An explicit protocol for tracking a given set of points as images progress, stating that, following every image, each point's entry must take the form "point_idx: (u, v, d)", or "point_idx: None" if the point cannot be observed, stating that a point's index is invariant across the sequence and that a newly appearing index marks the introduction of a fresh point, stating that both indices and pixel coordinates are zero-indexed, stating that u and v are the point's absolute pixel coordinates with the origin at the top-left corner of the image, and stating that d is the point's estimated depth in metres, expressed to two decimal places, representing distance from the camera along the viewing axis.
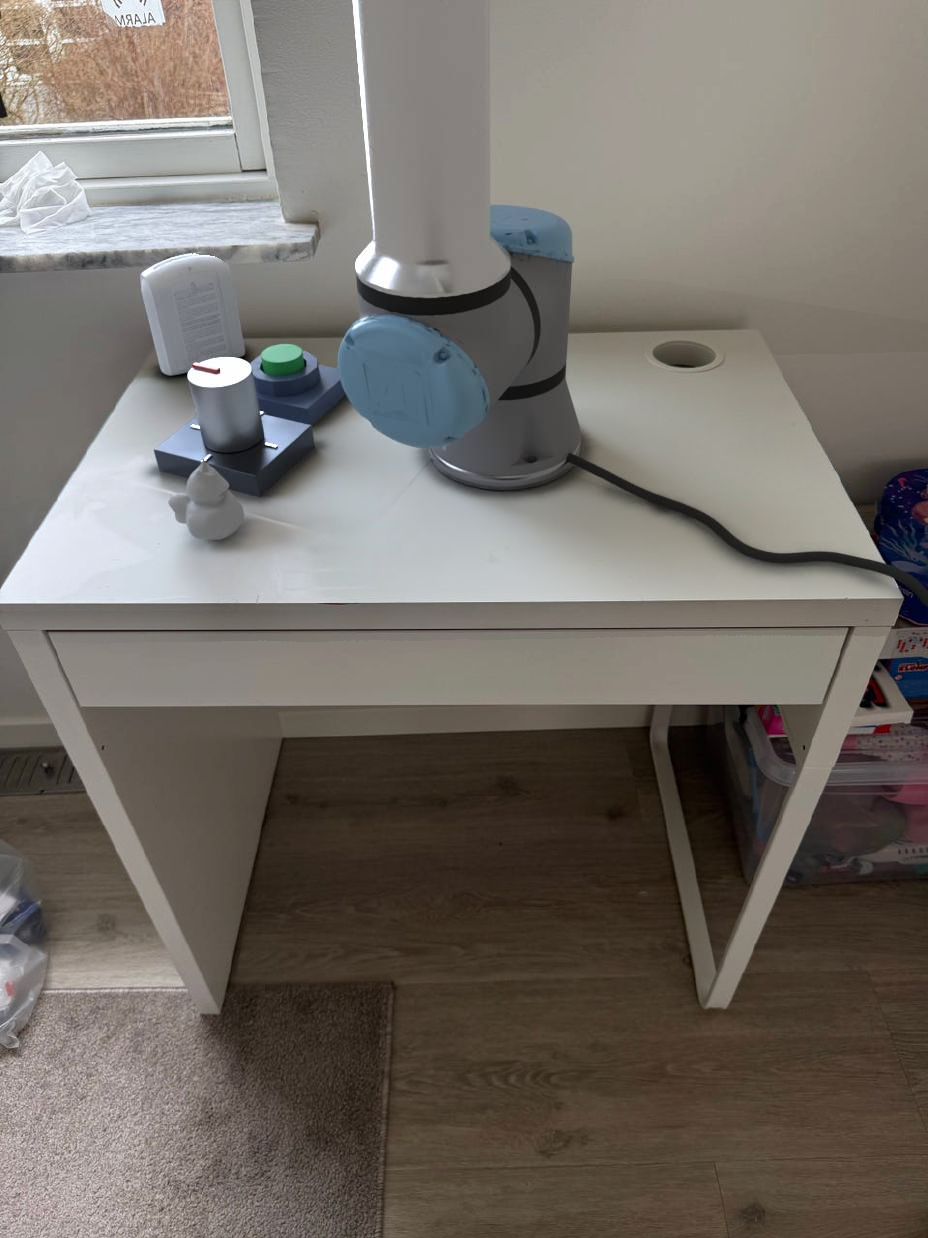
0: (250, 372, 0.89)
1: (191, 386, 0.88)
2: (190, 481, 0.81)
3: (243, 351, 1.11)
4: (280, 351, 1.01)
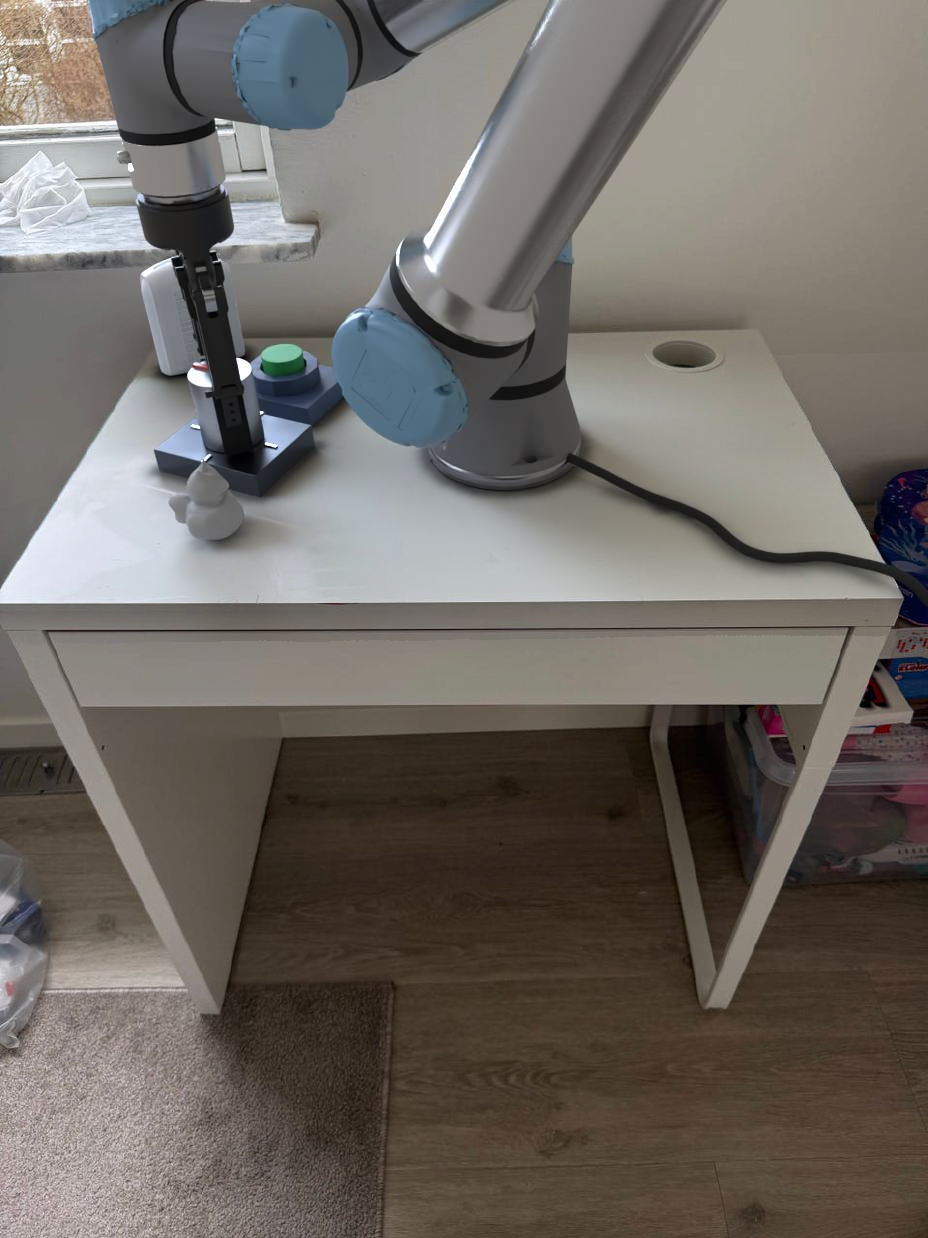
0: (250, 372, 0.89)
1: (191, 386, 0.88)
2: (190, 481, 0.81)
3: (243, 351, 1.11)
4: (280, 351, 1.01)
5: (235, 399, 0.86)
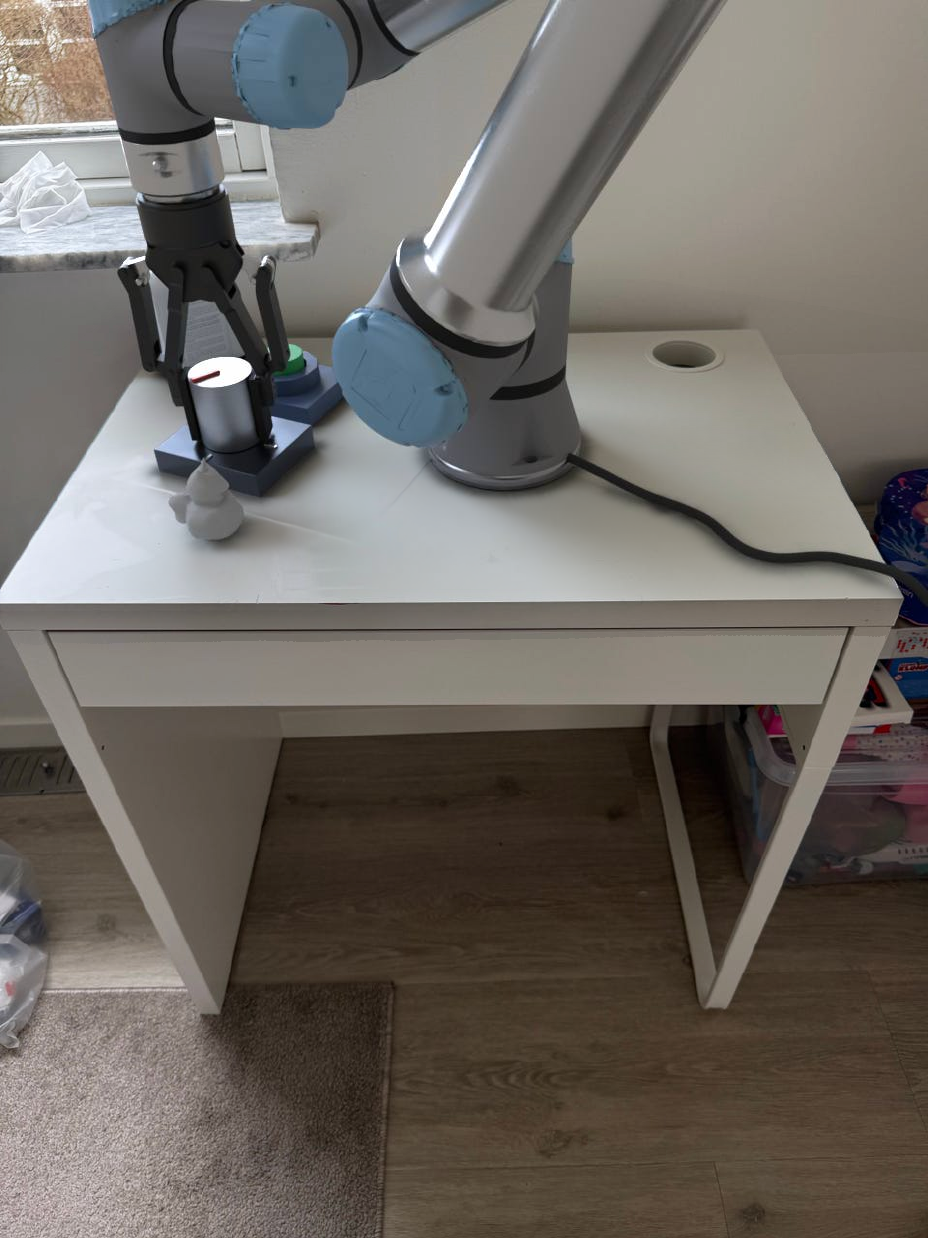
0: (239, 359, 0.91)
1: (221, 391, 0.87)
2: (190, 481, 0.81)
3: (243, 351, 1.11)
4: None
5: (273, 373, 0.89)
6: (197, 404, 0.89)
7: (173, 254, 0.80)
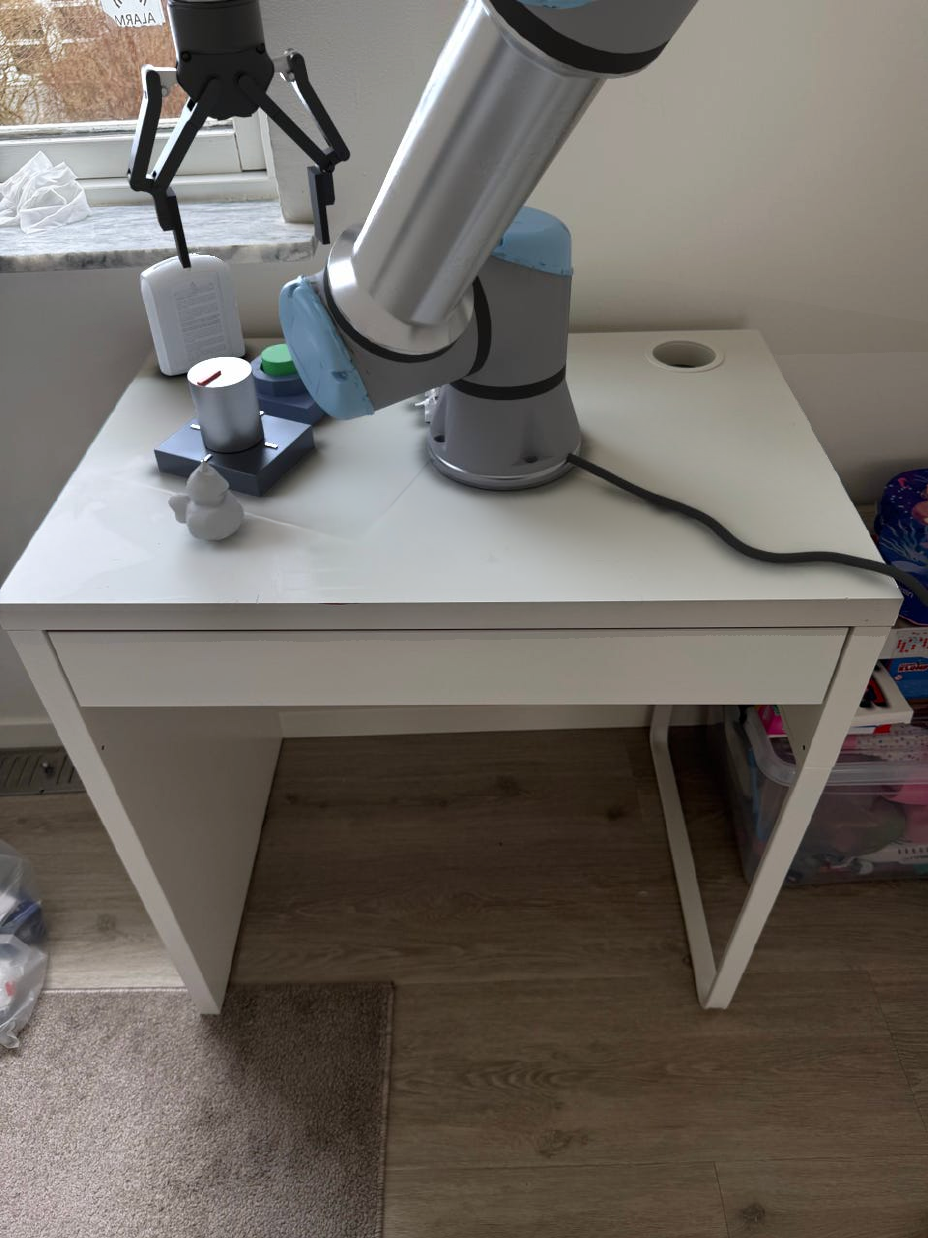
0: (229, 357, 0.91)
1: (233, 389, 0.87)
2: (190, 481, 0.81)
3: (243, 351, 1.11)
4: (280, 351, 1.01)
5: None
6: (207, 407, 0.88)
7: (212, 74, 0.80)
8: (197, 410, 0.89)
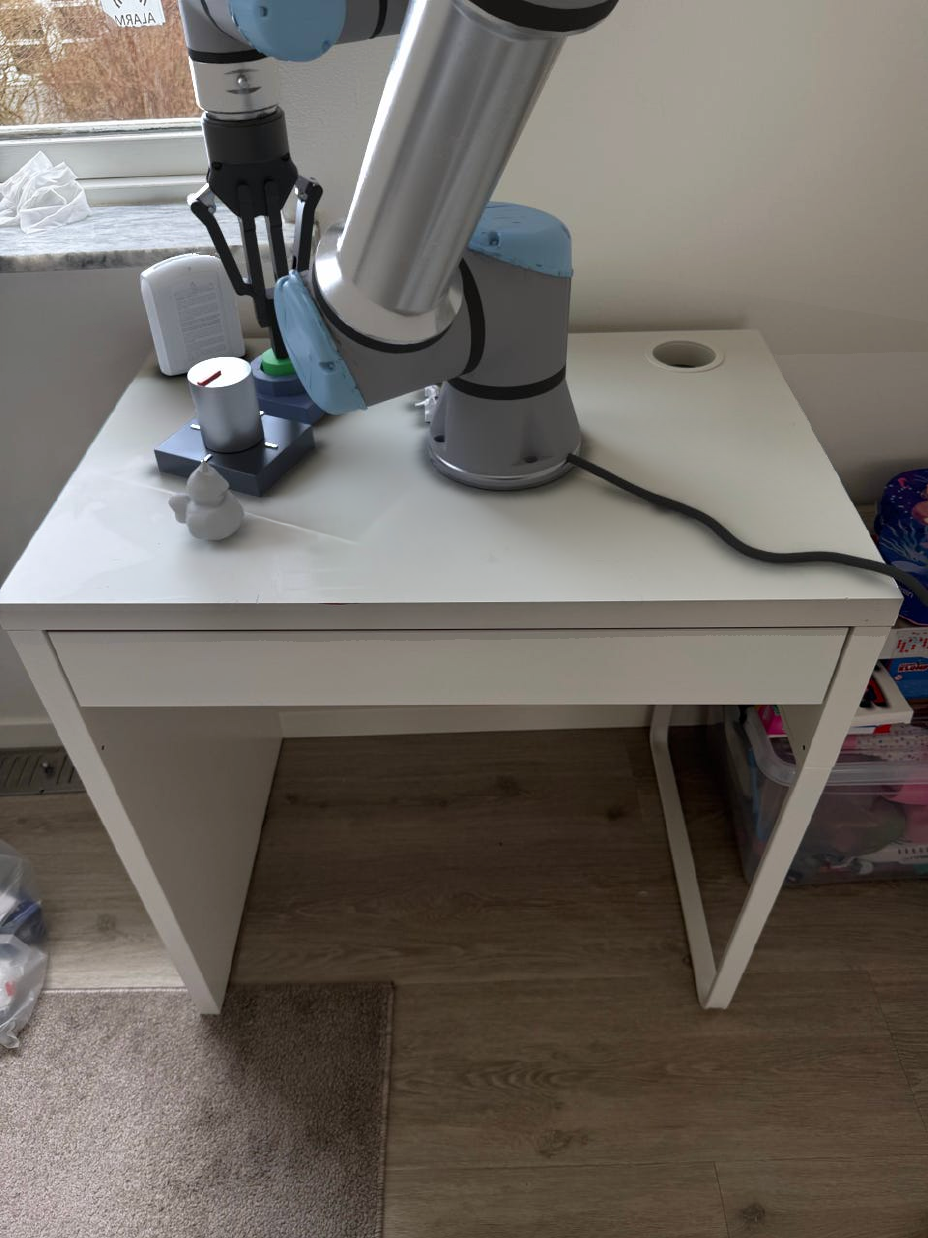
0: (229, 357, 0.91)
1: (233, 389, 0.87)
2: (190, 481, 0.81)
3: (243, 351, 1.11)
4: None
5: None
6: (207, 407, 0.88)
7: (233, 168, 0.87)
8: (197, 410, 0.89)
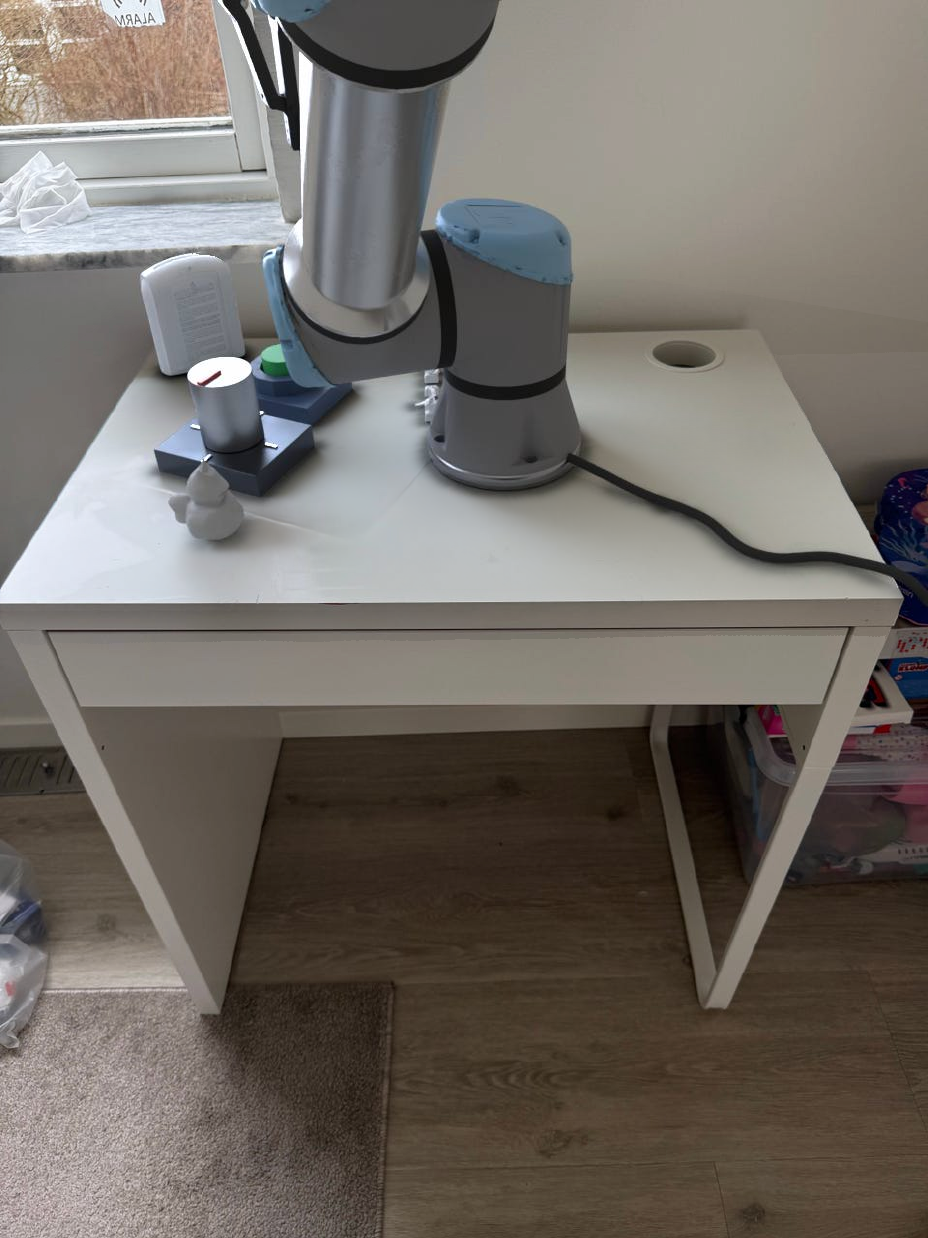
0: (229, 357, 0.91)
1: (233, 389, 0.87)
2: (190, 481, 0.81)
3: (243, 351, 1.11)
4: (280, 351, 1.01)
5: None
6: (207, 407, 0.88)
7: None
8: (197, 410, 0.89)
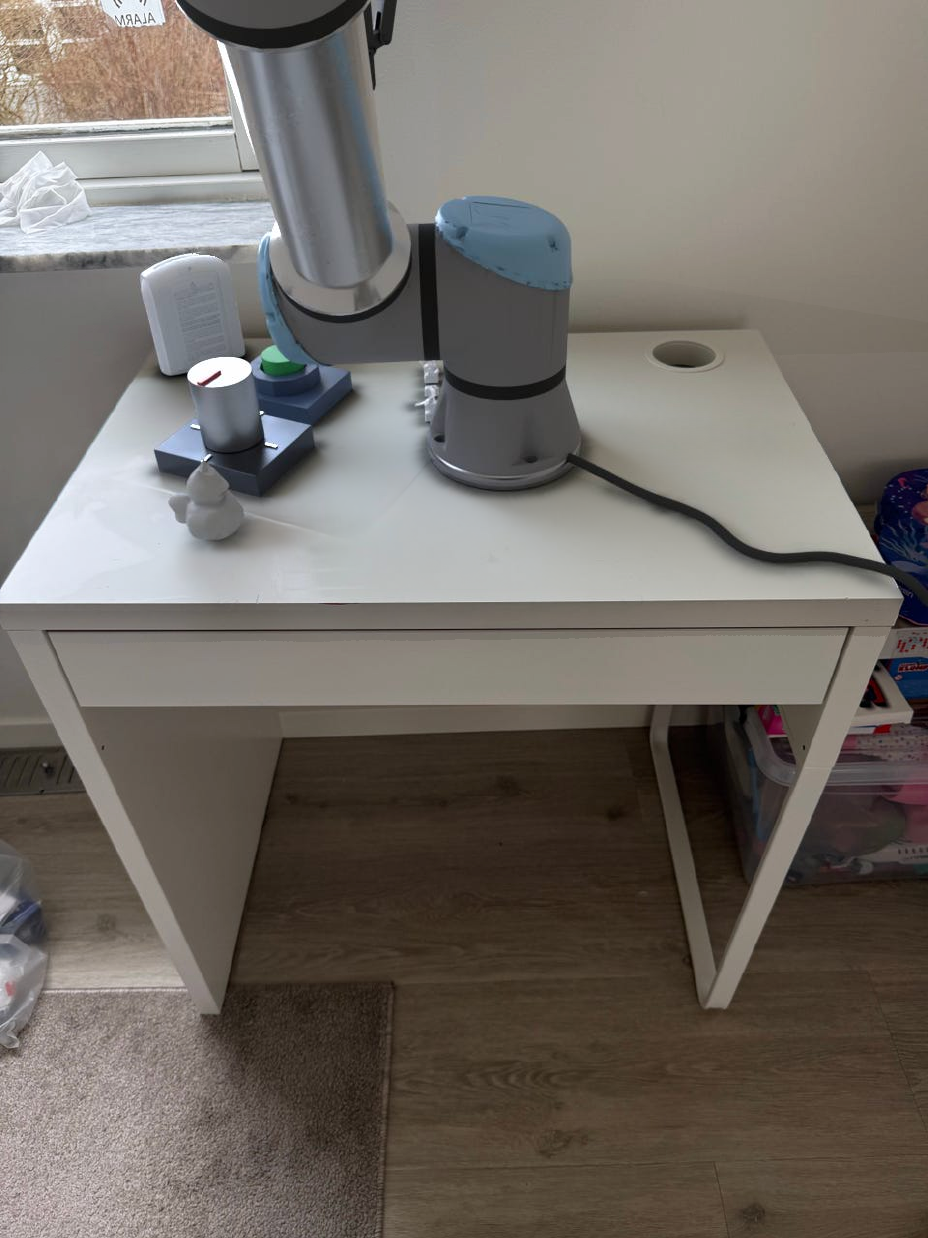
0: (229, 357, 0.91)
1: (233, 389, 0.87)
2: (190, 481, 0.81)
3: (243, 351, 1.11)
4: None
5: None
6: (207, 407, 0.88)
7: None
8: (197, 410, 0.89)
